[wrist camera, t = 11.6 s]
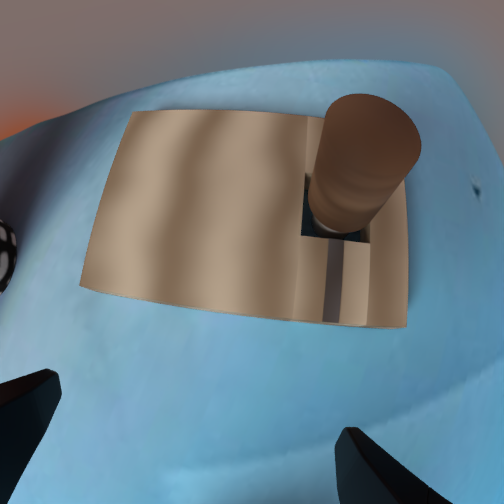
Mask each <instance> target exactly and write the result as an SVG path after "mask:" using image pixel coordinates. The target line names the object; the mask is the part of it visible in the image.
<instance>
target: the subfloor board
mask: <svg viewBox="0 0 504 504" xmlns="http://www.w3.org/2000/svg"><path fill="white" fill-rule="evenodd" d="M324 120H325V118H319V117H310V116H302V115H292V114H282V113H270V112H255V111H236V110H157V111H138V112H133V113H132V115H131V117H130V120H129V122H128V124H127V127H126V129H125V132H124V134H123V137H122V140H121V142H120V145H119V147H118V150H117V153H116V155H115V158H114V161H113V164H112V167H111V170H110V172H109V175H108V178H107V181H106V184H105V188H104V191H103V194H102V197H101V200H100V204H99V207H98V211H97V214H96V218H95V221H94V225H93V229H92V232H91V236H90V240H89V244H88V248H87V252H86V257H85V261H84V266H83V270H82V275H81V280H80V285H79V286H81V287H84V288H87V289H90V290H93V291H96V292H101V293H106V294H111V295H116V296H121V297H127V298H132V299H137V300H143V301H149V302H154V303H160V304H166V305H172V306H178V307H185V308H191V309H198V310H205V311H211V312H219V313H226V314H233V315H241V316H249V317H257V318H265V319H274V320H283V321H293V322H303V323H314V324H325V325H337V326H350V327H364V328H381V329H397V328H405V327H406V325H407V307H408V224H407V207H406V194H405V183H404V179H403V181H402V182H401V183H400V185H399V186H398V187H397V189H396V190H395V191H394V193H393V194H392V195H391V196H390V198H389V199H388V200H387V202H386V203H385V204H384V205H383V207H382V208H381V209H380V210H379V212H378V213H377V214H376V215H375V217H374V218H373V219H372V220H371V222H370V223H369V224H368V225H367V226H366V227H364V228H362V229H361V230H360V242H352V241H344V240H339V239H330V238H329V239H327V238H318V237H309V236H301V224H302V210H303V196H304V189H307V190H309V186H310V182H311V177H312V173H313V169H314V165H315V160H316V156H317V152H318V147H319V143H320V138H321V134H322V129H323V124H324Z"/></svg>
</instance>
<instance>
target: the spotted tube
mask: <svg viewBox="0 0 504 504" xmlns="http://www.w3.org/2000/svg"><path fill="white" fill-rule="evenodd" d="M15 260H16V238H15V234H14V232H13V230H12V228H11V227H10V225H9V224H7V223H5V222H4V221H2V220H0V295H1V294H2V293H3V291H4V290H5V288H6V287H7V285H8V283H9V281H10V279H11V276H12V273H13V270H14V266H15Z"/></svg>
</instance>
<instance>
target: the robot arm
mask: <svg viewBox="0 0 504 504" xmlns="http://www.w3.org/2000/svg"><path fill="white" fill-rule="evenodd" d="M61 395H62V391H61V385H60V380H59V375H58V373H57V372H55V371H53V370H50V369H43V370H40V371H37V372H34V373H31V374H28V375H25V376H22V377H19V378H16V379H13V380H10V381H7V382H4V383H1V384H0V504H7V503H8V501H9V499H10V497H11V495H12V493H13V491H14V489H15V487H16V485H17V483H18V481H19V479H20V478H21V476H22V474H23V472H24V470H25V468H26V466H27V464H28V463H29V461H30V459H31V457H32V455H33V454H34V452H35V450H36V448H37V447H38V445H39V443H40V441H41V440H42V438H43V436H44V434H45V432H46V430H47V428H48V426H49V424H50V421H51V419H52V417H53V414H54V412H55V410H56V408H57V405H58V403H59V401H60V399H61ZM335 464H336V479H337V490H338V496H339V501H340V504H453V503H451V502H450V501H448V500H447V499H445V498H444V497H442V496H441V495H440V494H438V493H437V492H436V491H434V490H433V489H432V488H430V487H429V486H428V485H427V484H425V483H424V482H423V481H421V480H420V479H419V478H418V477H416V476H415V475H414V474H413V473H411V472H410V471H409V470H408V469H407V468H405V467H404V466H403V465H402V464H400V463H399V462H398V461H397V460H396V459H394V458H393V457H392V456H391V455H390V454H388V453H387V452H386V451H385V450H384V449H382V448H381V447H380V446H379V445H378V444H376V443H375V442H374V441H373V440H372V439H371V438H369V437H368V436H367V435H366V434H365V433H364V432H363V431H361V430H360V429H359V428H358V427H345V428H344V429H343V430H342V432H341V434H340V436H339V438H338V440H337V442H336V444H335Z"/></svg>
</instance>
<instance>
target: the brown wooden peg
mask: <svg viewBox="0 0 504 504" xmlns="http://www.w3.org/2000/svg"><path fill="white" fill-rule="evenodd" d="M420 152H421V139H420V135H419V133H418V130H417V128H416V126H415V124H414V123H413V121H412V120H411V119H410V118H409V116H408V115H407V114H406V113H405V112H404V111H403V110H401V109H400V108H399V107H397V106H396V105H395V104H393V103H391V102H389V101H387V100H385V99H383V98H380V97H378V96H374V95H369V94H350V95H346V96H343V97H341V98H339V99H337V100H336V101H334V102H333V103H332V104H331V106H330V107H329V108H328V110H327V112H326V116H325V120H324V124H323V129H322V134H321V138H320V143H319V147H318V152H317V156H316V160H315V165H314V169H313V173H312V177H311V182H310V186H309V190H308V203H309V206H310V209H311V211H312V213H313V215H312V219H311V223H312V227H313V230H314V231H315V233H316V234H317V235H318V236H319V237H320V238H327V239H329V238H330V239H339V240H342V239H343V238H345V237H346V236H347V235H348V233H349V232H355V231H358V230H361V229H362V228H364V227H366V226H367V225H368V224H369V223H370V222H371V220H372V219H373V218H374V217H375V215H376V214H377V213H378V212H379V210H380V209H381V208H382V207H383V205H384V204H385V203H386V202H387V200H388V199H389V198H390V196H391V195H392V194H393V193H394V191H395V190H396V189H397V187H398V186H399V185H400V183H401V182H402V181H403V179H404V178H405V177H406V175H407V174H408V173H409V171H410V170H411V169H412V167H413V166H414V165H415V163H416V162H417V160H418V158H419V156H420Z"/></svg>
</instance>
